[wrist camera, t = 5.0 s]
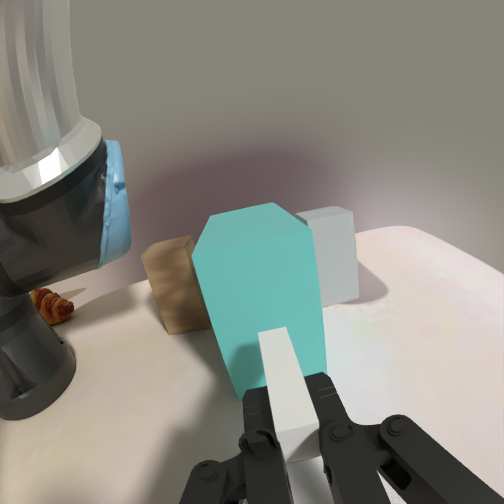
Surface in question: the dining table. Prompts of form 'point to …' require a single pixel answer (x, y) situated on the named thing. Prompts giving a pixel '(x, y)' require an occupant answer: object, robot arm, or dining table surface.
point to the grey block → (334, 253)
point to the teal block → (260, 289)
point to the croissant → (51, 305)
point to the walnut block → (176, 285)
